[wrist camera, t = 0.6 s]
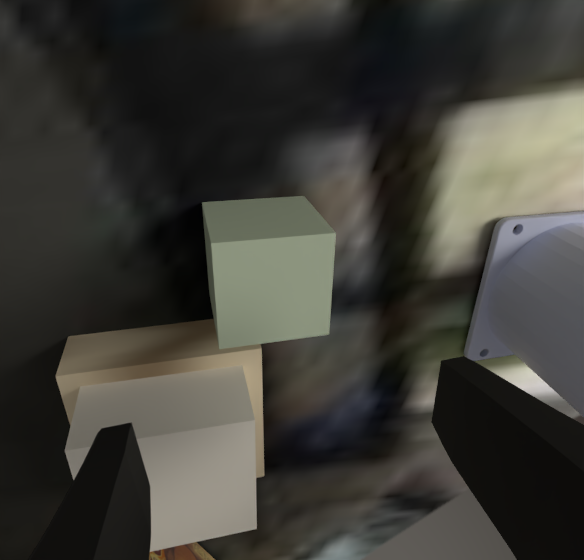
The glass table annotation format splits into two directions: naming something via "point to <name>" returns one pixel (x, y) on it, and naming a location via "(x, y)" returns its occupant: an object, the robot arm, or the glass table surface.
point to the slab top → (181, 448)
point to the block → (268, 270)
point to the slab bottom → (157, 362)
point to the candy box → (181, 553)
